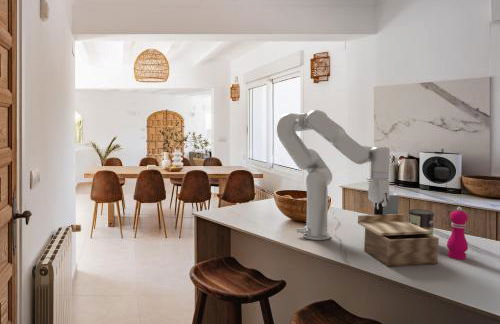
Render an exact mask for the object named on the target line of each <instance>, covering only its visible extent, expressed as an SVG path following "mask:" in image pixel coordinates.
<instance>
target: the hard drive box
mask: <svg viewBox="0 0 500 324" xmlns="http://www.w3.org/2000/svg"><path fill="white" fill-rule="evenodd" d="M399 199H400V196H399V195H398V194H397V193H396V192H395V191H393V190H389V202H388V203H387V206H384V209H383V215H387V214H399Z"/></svg>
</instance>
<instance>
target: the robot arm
mask: <svg viewBox="0 0 500 324" xmlns="http://www.w3.org/2000/svg"><path fill="white" fill-rule="evenodd" d="M312 130H313V131H314V132H316V133H317V134H318V135H320V136H321V137H322V138H323V139H325V140H326V141H327V142H328V143H330V145H332V146H333V147H334V148H335V150H337V151H338V152H340V153H341V154H342V155H343V156H344V157H346V158H347V159H349V160H350V161H351V162H353V163H355V164H357V165H363V164H366V163H370V178H369V182H368V190H367V198H368V200H369V201H370V202H371V203H372V204H373V208H374V209H373V210H374V211H373V215H383V209H384V206H387V203H388V202H389V191H390V181H389V180H390V162H391V161H390V157H391V156H390V155H391V154H390V153H391V151H390V150H391V149H390V148H389V147H387V146H367V145H361V144H360V143H358V142H357V141H356V140H354V139H353V138H352V137H351V136H350V135H348V134H347V132H346V130H345V128H343V127H342V126H341V125H340V124H338V123H337V122H336V121H334V120H333V119H331V118H330V117H329V116H328V114H327V113H326V112H325V111H324V110H323V111H322V110H318V109H314V110H313V109H312V110H310V111H309V112H303V113H292V112H288V113H285V114H283V115H282V116H281V117H280V118H279V120H278V122H277V126H276V134H277V137H278V140H279V141H280V143H281V145H282V146H283V148H284V149H285V150H286V152H287V154H288V155H289V156H290V158H291V160H292V161H293V163H295V165H296V166H297V168H298V169H300V170H304V171H306V172H307V176H306V179H305V186H306V222H305V223H306V225H304V226H303V227H301V228H300V227H297V228H296V229H295V231H296V232H295V233H297V234H298V233H299V234H302V237H303V238H304V239H308V240H313V241H325V240H328V239H331V234H330V232H328V210H329V209H328V208H329V191H328V186H329V185H330V184H331V183H332V180H333V173H332V171H331V169H330V168H329V166H328V165H327V163H325V161H324V159H322V157H321V155H320V154H319V153H318V152H317V151H316V150H314V149H313V148H308V147H307V145H305V143H304V142H303V140H302V139H301V137H300V136H299V135H298V134H297V132H303V131H312Z"/></svg>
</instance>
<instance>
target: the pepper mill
mask: <svg viewBox="0 0 500 324" xmlns="http://www.w3.org/2000/svg"><path fill="white" fill-rule="evenodd" d="M449 218H450V219H449V220H450V221H452V222H451V228H452V230H451V234H450V237H449V238H448V240H447V241H446V243H447V244H446V247H447V248H448V251H447V257H448V258H450V259H453V258H454V259H455V260H465V259H467V253H466V252H467V251H468V249H469V244H468V241H467V239H466V235H465V228H466V227H467V224H466V223H467V222H468V221H469V220H468V218H469V216H468V214H467V213H466V212H465V211H463V208H462V207H461V206H458V207H457V208H456V210H453V211H452V212H451V213H450V216H449Z"/></svg>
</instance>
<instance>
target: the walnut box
mask: <svg viewBox="0 0 500 324" xmlns="http://www.w3.org/2000/svg"><path fill="white" fill-rule="evenodd" d="M439 242H440V241H439V237H437V236H434V235H433V236H432V235H430V234H409V235H387V236H380V235H378V234H376V233H374V232H372V231H371V230H369V229H367V228H365V227H364V245H363V246H364V247H363V249H364V250H363V251H364V252H365V253H366V254H368V255H370V256H371V257H372V258H374V259H375V260H376V261H378V262H379V263H381V264H382V265H384V266H385V267H387V268H394V267H411V266H413V267H414V266H426V265H438V261H439V260H438V259H439V257H438V256H439Z"/></svg>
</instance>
